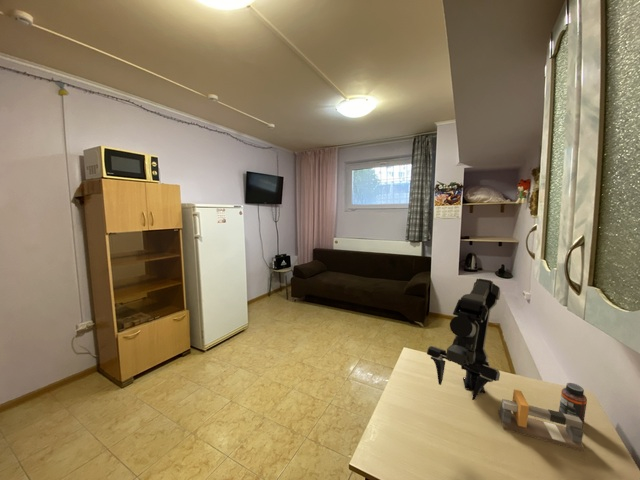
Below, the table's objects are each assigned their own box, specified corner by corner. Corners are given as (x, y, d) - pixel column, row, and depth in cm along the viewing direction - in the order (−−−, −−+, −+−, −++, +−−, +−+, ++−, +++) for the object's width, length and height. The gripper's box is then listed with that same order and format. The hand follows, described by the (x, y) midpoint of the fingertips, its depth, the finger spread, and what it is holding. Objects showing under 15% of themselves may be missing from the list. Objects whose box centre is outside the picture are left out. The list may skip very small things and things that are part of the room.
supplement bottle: (578, 414, 86) (583, 383, 85) (587, 428, 81) (593, 395, 79) (555, 408, 89) (559, 378, 87) (562, 421, 83) (567, 389, 82)
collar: (511, 408, 85) (513, 389, 84) (518, 410, 84) (521, 391, 83) (518, 425, 79) (521, 404, 78) (526, 427, 78) (529, 406, 77)
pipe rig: (498, 412, 87) (500, 393, 86) (571, 431, 80) (574, 410, 79) (503, 429, 80) (506, 408, 79) (583, 451, 73) (587, 429, 72)
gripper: (426, 326, 81) (414, 378, 78) (497, 348, 68) (486, 412, 65) (437, 329, 88) (428, 377, 85) (503, 350, 75) (494, 407, 72)
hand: (455, 391), depth 77 cm, fingers open, 9 cm apart
